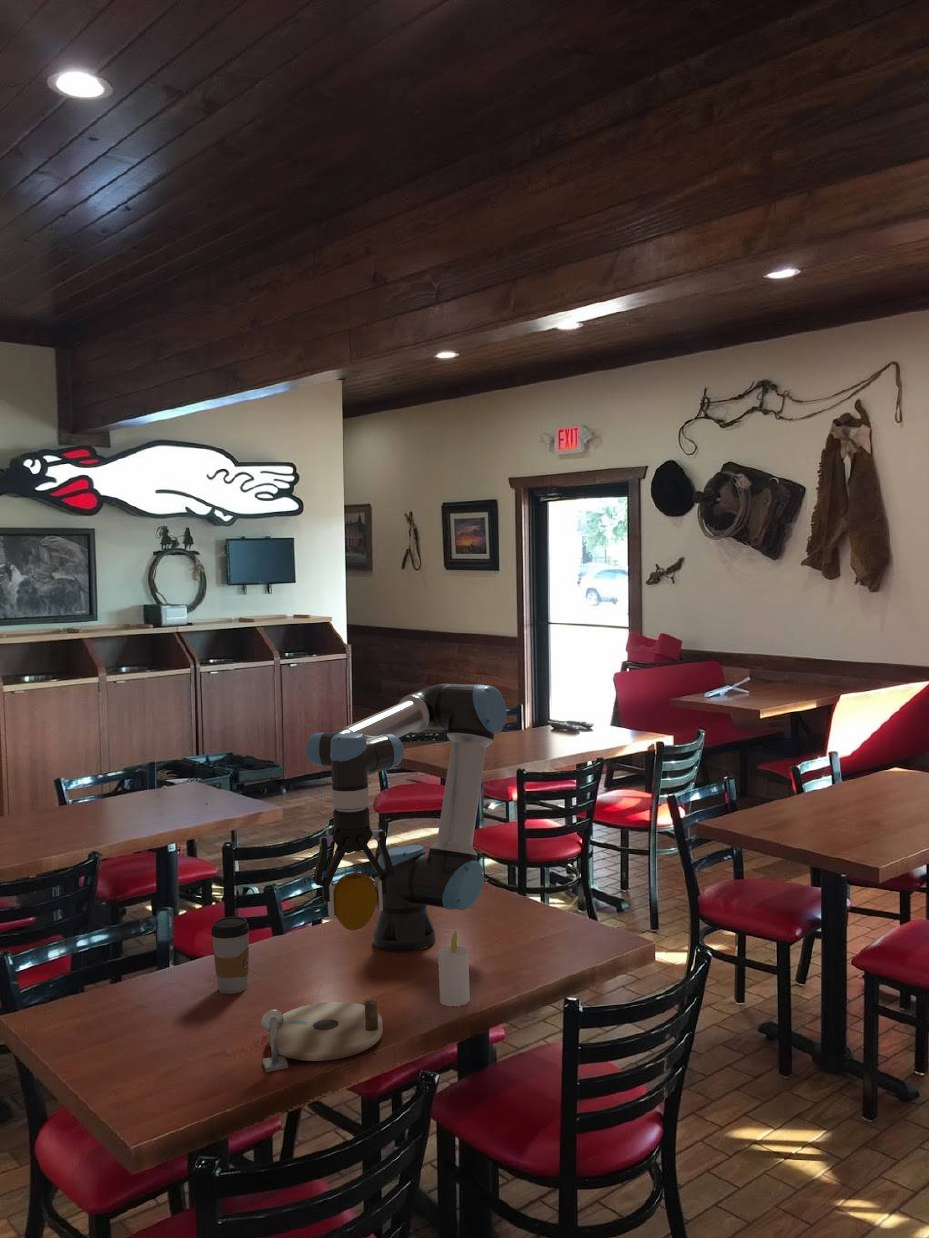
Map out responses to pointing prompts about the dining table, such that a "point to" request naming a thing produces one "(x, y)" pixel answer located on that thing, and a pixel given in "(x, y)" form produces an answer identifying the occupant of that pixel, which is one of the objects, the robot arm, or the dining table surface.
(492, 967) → the dining table surface
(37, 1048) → the dining table surface
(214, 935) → the coffee cup
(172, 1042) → the dining table surface
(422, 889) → the robot arm
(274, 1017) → the indicator stand
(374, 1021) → the turntable
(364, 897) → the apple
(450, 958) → the candle
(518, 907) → the dining table surface
